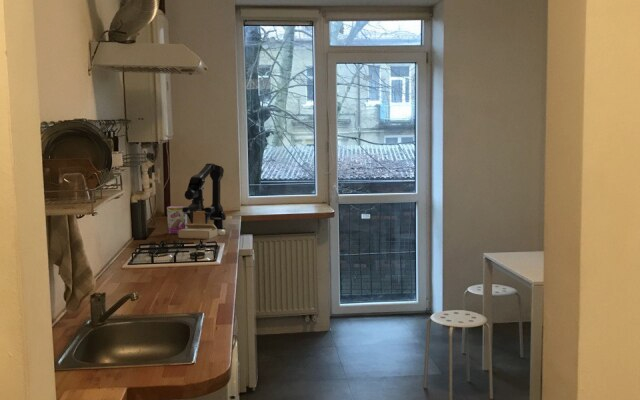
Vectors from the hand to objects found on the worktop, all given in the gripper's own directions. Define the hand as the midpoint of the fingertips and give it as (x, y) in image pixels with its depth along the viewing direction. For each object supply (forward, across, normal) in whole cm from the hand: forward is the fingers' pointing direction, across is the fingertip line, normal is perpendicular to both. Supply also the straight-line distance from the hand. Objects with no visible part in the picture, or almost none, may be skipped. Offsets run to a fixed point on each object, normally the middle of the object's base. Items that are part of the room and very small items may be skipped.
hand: (199, 223), depth 396 cm
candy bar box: (+8, -18, +7) cm, 21 cm away
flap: (+2, 0, +1) cm, 2 cm away
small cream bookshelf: (+7, 0, -2) cm, 8 cm away
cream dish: (+7, +9, +8) cm, 14 cm away
